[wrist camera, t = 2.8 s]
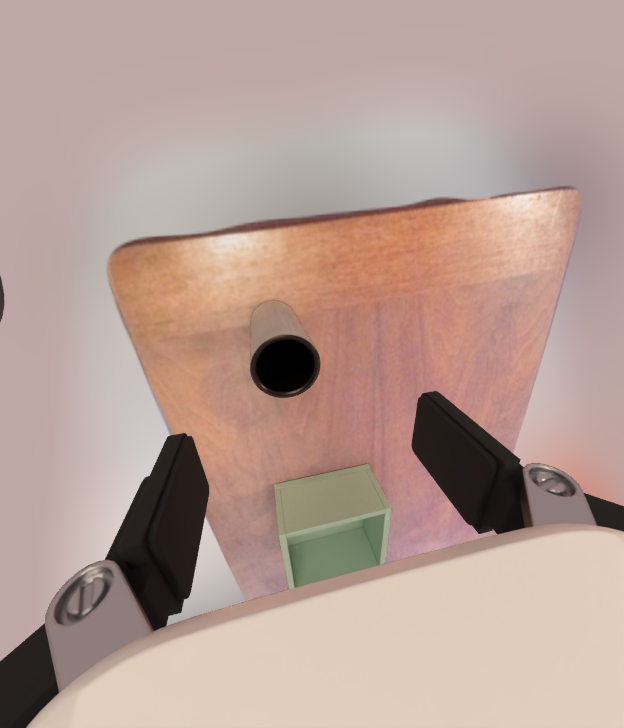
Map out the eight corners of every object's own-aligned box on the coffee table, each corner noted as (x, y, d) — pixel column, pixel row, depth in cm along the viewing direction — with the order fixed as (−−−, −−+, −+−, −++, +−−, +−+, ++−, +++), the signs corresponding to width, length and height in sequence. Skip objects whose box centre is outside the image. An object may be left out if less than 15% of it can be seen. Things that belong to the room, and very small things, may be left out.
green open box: (284, 543, 41) (290, 597, 35) (273, 483, 35) (278, 536, 29) (365, 522, 43) (384, 569, 37) (368, 463, 37) (391, 507, 31)
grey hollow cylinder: (254, 347, 26) (256, 403, 17) (246, 302, 24) (243, 340, 15) (298, 341, 27) (322, 392, 18) (294, 297, 25) (319, 330, 16)
